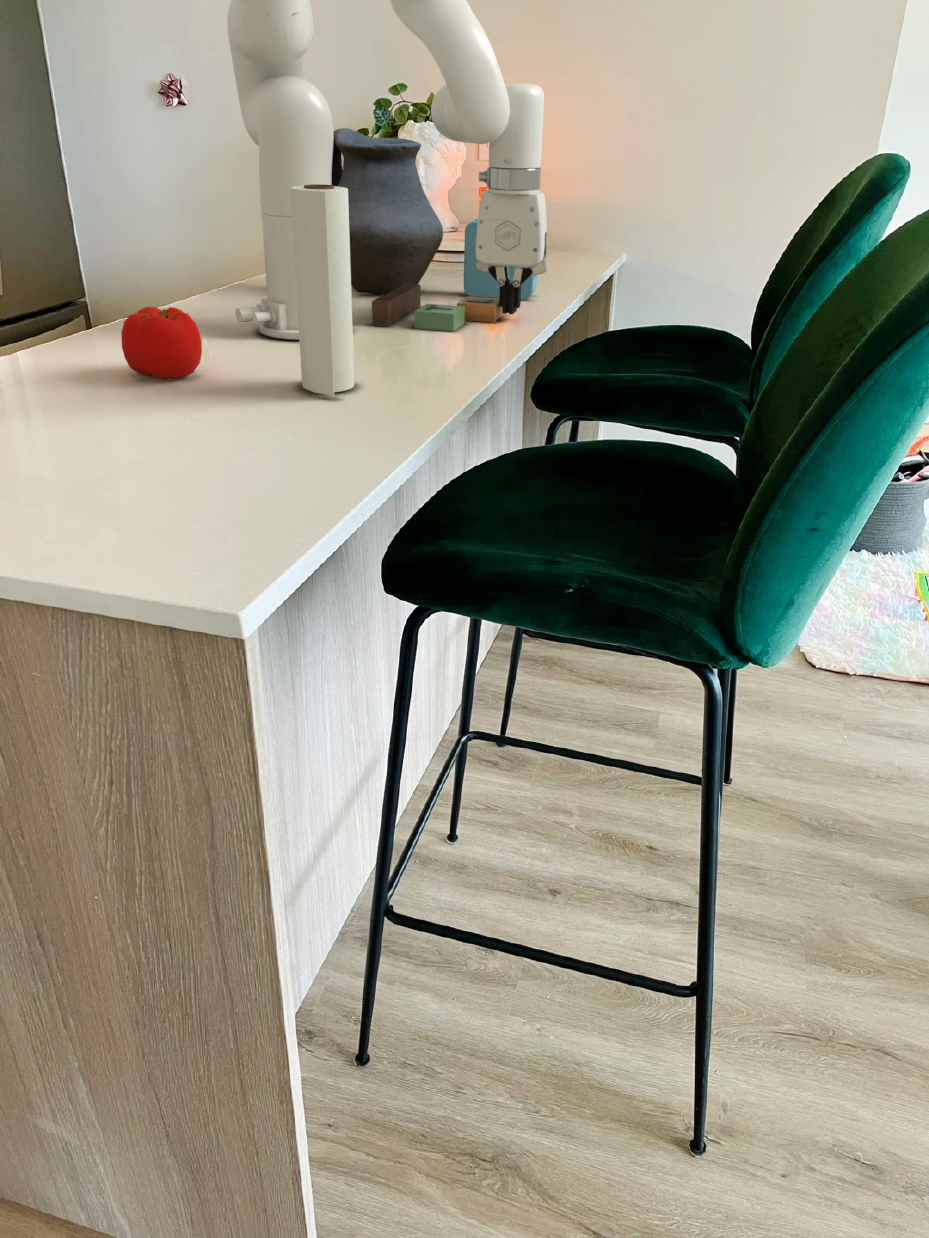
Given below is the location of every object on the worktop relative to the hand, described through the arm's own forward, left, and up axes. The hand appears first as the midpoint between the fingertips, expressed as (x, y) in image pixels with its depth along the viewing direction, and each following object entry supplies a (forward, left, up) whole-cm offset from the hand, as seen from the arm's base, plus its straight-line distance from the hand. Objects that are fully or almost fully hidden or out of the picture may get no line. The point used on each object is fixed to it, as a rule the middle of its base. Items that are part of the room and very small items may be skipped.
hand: (509, 312), depth 145 cm
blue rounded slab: (+11, +16, -1) cm, 20 cm away
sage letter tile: (-12, +2, -1) cm, 12 cm away
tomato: (-56, -5, -1) cm, 56 cm away
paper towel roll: (-43, -20, -1) cm, 47 cm away
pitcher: (-4, +31, -1) cm, 32 cm away
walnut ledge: (-13, +11, -1) cm, 17 cm away
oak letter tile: (-3, +4, -1) cm, 5 cm away
